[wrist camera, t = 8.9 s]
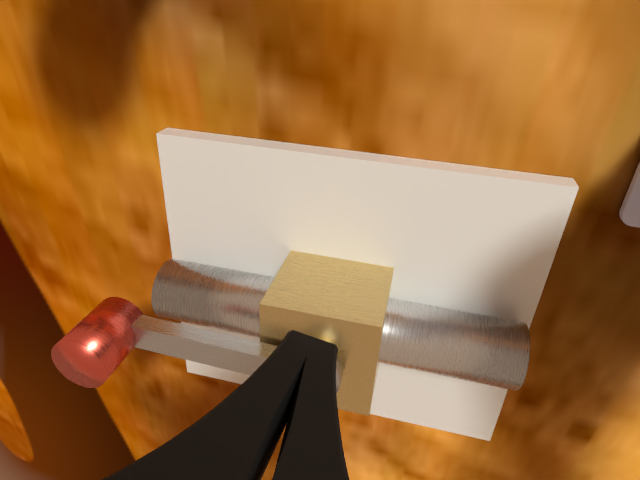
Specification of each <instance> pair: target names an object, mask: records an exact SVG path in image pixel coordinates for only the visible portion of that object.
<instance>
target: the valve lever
mask: <svg viewBox="0 0 640 480" xmlns="http://www.w3.org/2000/svg"><path fill="white" fill-rule="evenodd" d="M134 347H136V348H140V349H144V350H148V351H152V352H156V353H160V354H165V355H169V356H173V357H177V358H181V359H185V360H189V361H193V362H197V363H201V364H206V365H210V366H214V367H218V368H222V369H226V370H230V371H234V372H238V373H243V374H247V375H252V374H253V373H254V372H255V371H256V370H257V369H258V368H259V367H260V366H261V365H262V364H263V363H264V361H265V360H266V359H267V358H268V357H269V356H270V355H271V354H272V353H273V351H274V350H275V349H276V348H277V347H278V346H276V345H271V344H267V343H263V342H258V341H254V340H250V339H245V338H241V337H237V336H232V335H228V334H224V333H219V332H215V331H210V330H206V329H202V328H197V327H193V326H189V325H184V324H180V323H176V322H171V321H167V320H163V319H158V318H154V317H149V316H145V315H143V313H142V312H141V311H140V309H139V308H138V307H136V306H135V305H134V304H133V303H131V302H129V301H127V300H125V299H123V298H119V297H109V298H106V299H105V300H103V301H102V302H101V303H100V304H99V305H98V306H97V307H96V308H95V309H94V310H92V311H91V312H90V313H89V314H88V315H87V316H86V317H85V318H84V319H83V320H82V321H81V322H79V323H78V324H77V325H76V326H75V327H74V328H73V329H72V330H71V331H70V332H69V333H68V334H66V335H65V336H64V337H63V338H62V339H61V340H60V341H59V342H58V343H57V344H56V345H55V346H54V347H53V348H52V353H51V355H52V360H53V362H54V364H55V366H56V367H57V369H58V370H59V371H60V372H61V373H62V374H63V375H64V376H65V377H66V378H67V379H69V380H70V381H72V382H74V383H76V384H78V385H80V386H83V387H88V388H96V387H99V386H101V385H102V384H103V383H104V382H105V381H106V380H107V378H108V377H109V376H110V375H111V374H112V373H113V372H114V370H115V369H116V368H117V367H118V366H119V365H120V363H121V362H122V361H123V360H124V359H125V358H126V356H127V355H128V354H129V353H130V352H131V351H132V349H133V348H134ZM343 370H344V369H343V364H342V362H341V360H340V358H339V357H338V356H337V361H336V393H337V392H338V390H339V387H340V383H341V379H342V376H343Z"/></svg>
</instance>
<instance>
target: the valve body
mask: <svg viewBox="0 0 640 480" xmlns="http://www.w3.org/2000/svg"><path fill="white" fill-rule="evenodd" d="M393 271H394V268H393V267H387V266H381V265H375V264H369V263H363V262H357V261H352V260H346V259H340V258H334V257H328V256H322V255H316V254H310V253H304V252H298V251H292V250H291V251H290V253H289V254H288V256H287V258H286V259H285V261H284V263H283V264H282V266H281V268H280V270H279V271H278V273H277V275H276V276H275V277H272V276H267V275H261V274H256V273H250V272H245V271H239V270H234V269H228V268H223V267H217V266H212V265H206V264H201V263H195V262H189V261H184V260H178V259H170V260H168V261H166V262H165V263H164V264H163V265H162V267H161V268H160V270H159V272H158V274H157V276H156V278H155V281H154V285H153V289H152V307H153V310H154V313H155V314H156V315H157V316H158V317H162V318H167V319H172V320H176V321H181V322H186V323H191V324H196V325H201V326H205V327H210V328H215V329H220V330H225V331H229V332H234V333H239V334H244V335H249V336H254V337H258V338H260V342H263V343H267V344H271V345H276V346H278V345H279V344H280V343H281V341H282V340H283V339H284V337H285V336H286V334H287V333H288V332H289V331H292V330H294V331H297V332H300V333H303V334H306V335H309V336H312V337H315V338H318V339H321V340H324V341H327V342H330V343H333V344H335V345H336V346H337V348H338V353H337V356H338V357H339V358H340V360H341V362H342V364H343V369H344V370H343V376H342V379H341V383H340V387H339V390H338V392H337V393H336V395H337V407H338V409H342V410H346V411H350V412H355V413H359V414H363V415H368V416H369V415H370V410H371V404H372V399H373V393H374V388H375V383H376V377H377V372H378V366H379V363H384V364H388V365H393V366H398V367H403V368H408V369H412V370H417V371H422V372H427V373H432V374H437V375H441V376H446V377H451V378H456V379H461V380H465V381H470V382H475V383H480V384H485V385H490V386H494V387H499V388H504V389H509V390H514V391H518V390H519V389H520V388H521V387H522V385H523V383H524V380H525V377H526V373H527V369H528V363H529V355H530V334H529V329H528V326H527V324H526V323H525V322H521V321H515V320H510V319H504V318H499V317H493V316H488V315H482V314H477V313H471V312H466V311H460V310H455V309H449V308H444V307H438V306H432V305H427V304H421V303H416V302H410V301H405V300H399V299H394V298H390V291H391V284H392V278H393Z"/></svg>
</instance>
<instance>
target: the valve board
mask: <svg viewBox="0 0 640 480" xmlns="http://www.w3.org/2000/svg"><path fill="white" fill-rule="evenodd" d="M156 136H157V144H158V151H159V159H160V167H161V174H162V182H163V190H164V197H165V205H166V212H167V220H168V228H169V235H170V243H171V251H172V258H173V259H178V260H184V261H189V262H195V263H201V264H206V265H212V266H217V267H223V268H228V269H234V270H239V271H245V272H250V273H256V274H261V275H267V276H272V277H275V276H276V275H277V273H278V271H279V270H280V268H281V266H282V264H283V263H284V261H285V259H286V258H287V256H288V254H289V253H290V251H291V250H292V251H298V252H304V253H310V254H316V255H322V256H328V257H334V258H340V259H346V260H352V261H357V262H363V263H369V264H375V265H381V266H387V267H393V268H394V271H393V278H392V284H391V291H390V298H394V299H399V300H405V301H410V302H416V303H421V304H427V305H432V306H438V307H444V308H449V309H455V310H460V311H466V312H471V313H477V314H482V315H488V316H493V317H499V318H504V319H510V320H515V321H521V322H525V323H526V324H527V326H528V329H529V328H530V325H531V323H532V320H533V317H534V314H535V311H536V308H537V305H538V303H539V300H540V297H541V294H542V291H543V288H544V285H545V283H546V280H547V277H548V274H549V271H550V268H551V266H552V263H553V260H554V257H555V254H556V251H557V248H558V246H559V243H560V240H561V237H562V234H563V231H564V228H565V226H566V223H567V220H568V217H569V214H570V211H571V209H572V206H573V203H574V200H575V197H576V194H577V191H578V189H579V187H578V185H577V184H576V182H575V181H574V179H573V178H567V177H559V176H551V175H543V174H535V173H527V172H519V171H511V170H503V169H495V168H487V167H479V166H471V165H463V164H455V163H447V162H439V161H431V160H423V159H415V158H407V157H399V156H391V155H383V154H375V153H367V152H359V151H351V150H343V149H335V148H327V147H318V146H310V145H302V144H294V143H286V142H278V141H270V140H262V139H254V138H246V137H238V136H230V135H222V134H214V133H206V132H198V131H190V130H182V129H174V128H166V129H164V130H162V131H160V132H158V133H156ZM181 324H184V325H189V326H193V327H197V328H202V329H206V330H210V331H215V332H219V333H224V334H228V335H232V336H237V337H241V338H245V339H250V340H254V341H258V342H260V338H258V337H254V336H249V335H244V334H239V333H234V332H229V331H225V330H220V329H215V328H210V327H205V326H201V325H196V324H191V323H186V322H181ZM186 366H187V372H190V373H194V374H199V375H203V376H208V377H212V378H216V379H221V380H225V381H229V382H234V383H238V384H242V383H244V382H245V381H246V380H247V379H248V378H249V377H250V376H251V375H247V374H243V373H238V372H234V371H230V370H226V369H222V368H218V367H214V366H210V365H206V364H201V363H197V362H193V361H189V360H186ZM507 391H508V389H504V388H499V387H494V386H490V385H485V384H480V383H475V382H470V381H465V380H461V379H456V378H451V377H446V376H441V375H437V374H432V373H427V372H422V371H417V370H412V369H408V368H403V367H398V366H393V365H388V364H384V363H379V366H378V372H377V377H376V383H375V388H374V393H373V399H372V404H371V410H370V414H374V415H378V416H382V417H387V418H391V419H396V420H400V421H404V422H409V423H413V424H417V425H422V426H426V427H430V428H435V429H439V430H444V431H448V432H452V433H457V434H461V435H465V436H470V437H474V438H479V439H483V440H487V441H490V439H491V437H492V434H493V431H494V428H495V425H496V422H497V419H498V417H499V414H500V411H501V408H502V405H503V402H504V399H505V397H506V394H507Z"/></svg>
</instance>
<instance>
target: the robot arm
mask: <svg viewBox="0 0 640 480" xmlns="http://www.w3.org/2000/svg"><path fill="white" fill-rule="evenodd" d="M619 216H620V219H621V220H622V221H623V223H625V224H626V225H628V226H631V227H638V228H640V162H639V164H638V167H637V169H636V172H635V174H634V177H633V179H632V182H631V184H630V187H629V189H628V191H627V194H626V196H625V199H624V201H623V204H622V206H621V209H620V212H619ZM337 353H338V348H337V346H336V345H335V344H333V343H330V342H327V341H324V340H321V339H318V338H315V337H312V336H309V335H306V334H303V333H300V332H297V331H294V330H292V331H289V332H288V333H287V334H286V336H285V337H284V339H283V340H282V341H281V343H280V344H279V345H278V347H277V348H276V349H275V350H274V351H273V353H272V354H271V355H270V356H269V357H268V358H267V359H266V360H265V361H264V363H263V364H262V365H261V366H260V367H259V368H258V369H257V370H256V371H255V372H254V373H253V374H252V375H251V376H250V377H249V378H248V379H247V380H246V381H245V382H244V383H242V384H241V385H240V386H239V387H238V388H237V389H236V390H235V391H233V392H232V393H231V394H230V395H229V396H228V397H227V398H226V399H224V400H223V401H222V402H221V403H220V404H219V405H217V406H216V407H215V408H214V409H212V410H211V411H210V412H209V413H207V414H206V415H205V416H203V417H202V418H201V419H199V420H198V421H197V422H195V423H194V424H193V425H191V426H190V427H188V428H187V429H185V430H184V431H183V432H181V433H180V434H178V435H177V436H175V437H174V438H172V439H171V440H169V441H168V442H166V443H165V444H163V445H162V446H160V447H159V448H157V449H155V450H154V451H152V452H150V453H148V454H147V455H145V456H143V457H142V458H140V459H138V460H137V461H135V462H133V463H131V464H130V465H128V466H126V467H125V468H123V469H121V470H119V471H117V472H116V473H114V474H112V475H110V476H108V477H106V478H104V479H102V480H261V478H262V476H263V474H264V471H265V469H266V467H267V465H268V463H269V460H270V458H271V456H272V454H273V452H274V450H275V447H276V445H277V443H278V441H279V439H280V436H281V434H282V432H283V430H284V428H285V426H286V428H285V432H284V436H283V440H282V444H281V449H280V453H279V457H278V461H277V465H276V469H275V473H274V476H273V478H272V480H349V477H348V472H347V468H346V463H345V458H344V452H343V447H342V440H341V433H340V426H339V418H338V407H337V395H336V361H337ZM286 423H287V424H286Z"/></svg>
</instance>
